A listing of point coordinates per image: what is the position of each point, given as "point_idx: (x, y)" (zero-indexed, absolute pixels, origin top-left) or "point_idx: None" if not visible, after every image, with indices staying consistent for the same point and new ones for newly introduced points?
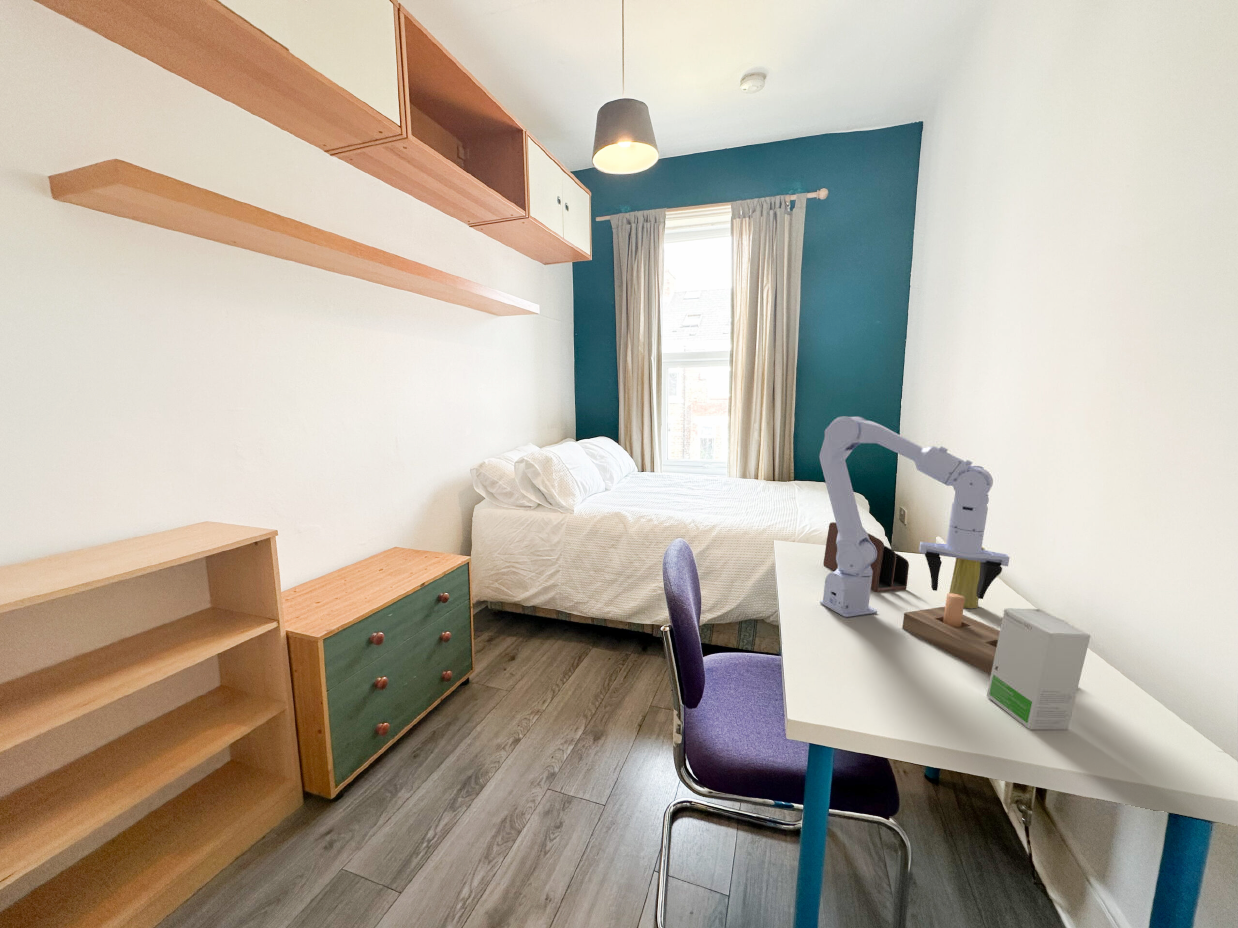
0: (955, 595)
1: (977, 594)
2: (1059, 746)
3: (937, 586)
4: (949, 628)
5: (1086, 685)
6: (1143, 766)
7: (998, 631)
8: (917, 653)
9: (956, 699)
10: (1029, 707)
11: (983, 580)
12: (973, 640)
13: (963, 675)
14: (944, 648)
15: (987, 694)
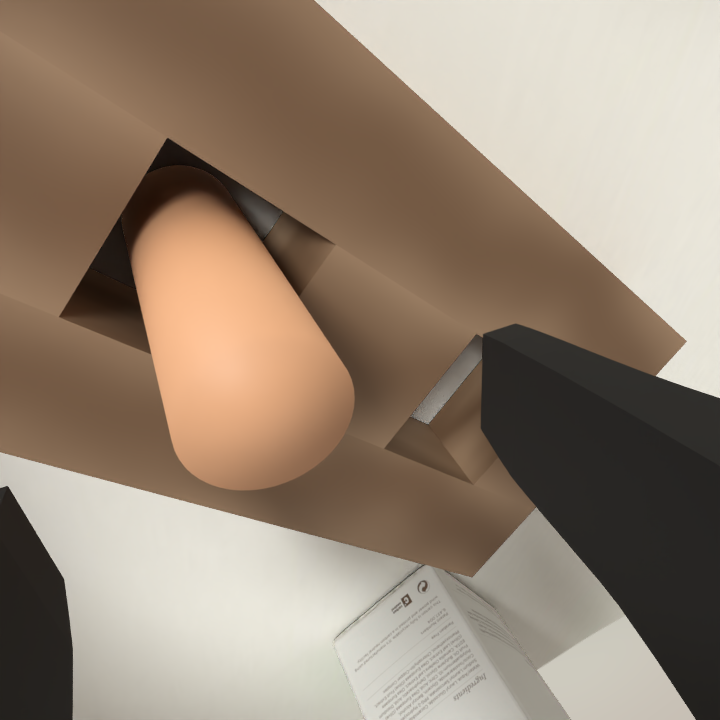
0: (261, 395)
1: (493, 385)
2: None
3: (68, 650)
4: None
5: (675, 299)
6: (583, 613)
7: (497, 206)
8: (58, 562)
9: (247, 711)
10: None
11: (644, 618)
12: (331, 472)
13: (266, 576)
14: None
15: (335, 650)
